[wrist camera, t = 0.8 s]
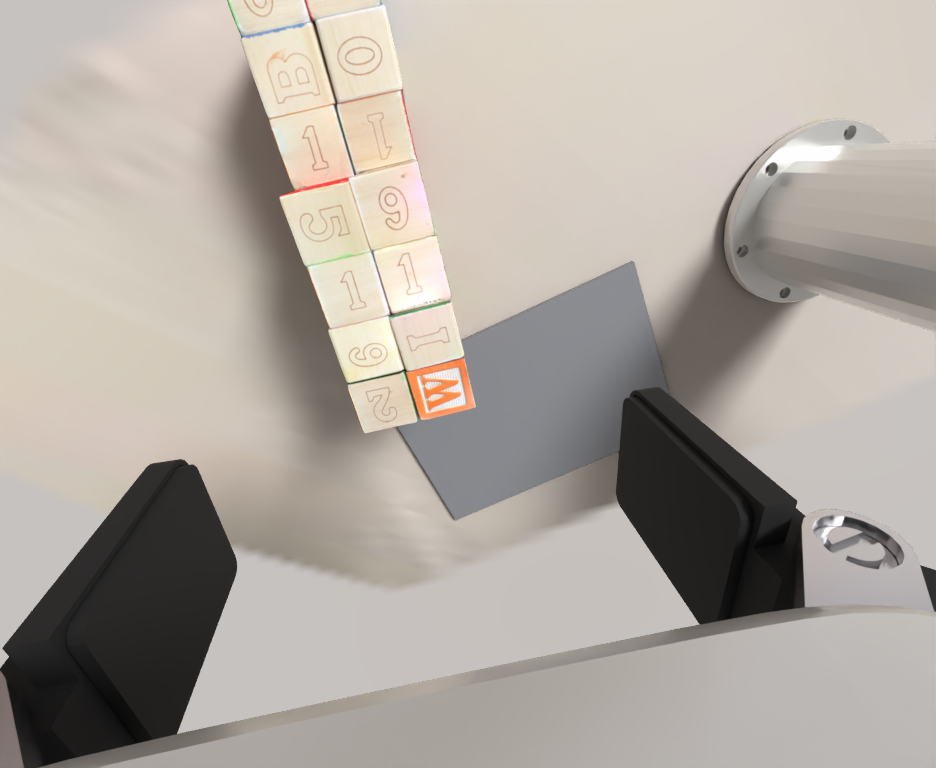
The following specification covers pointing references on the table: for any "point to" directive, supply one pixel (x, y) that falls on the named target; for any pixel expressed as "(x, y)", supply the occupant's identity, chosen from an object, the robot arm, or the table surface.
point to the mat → (542, 394)
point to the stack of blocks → (359, 203)
